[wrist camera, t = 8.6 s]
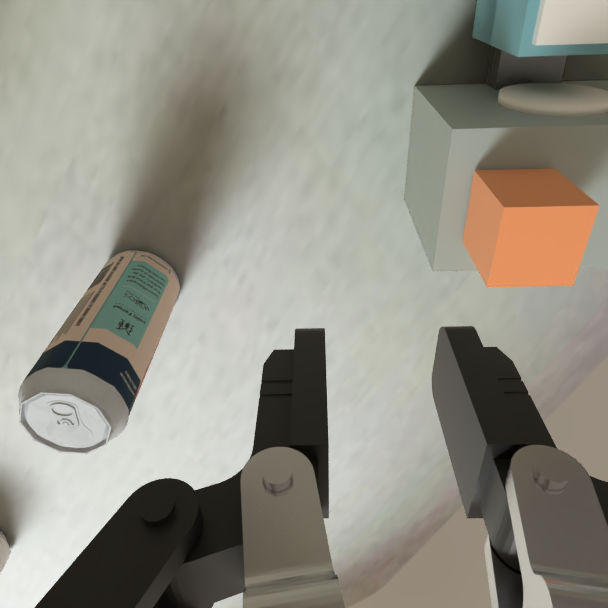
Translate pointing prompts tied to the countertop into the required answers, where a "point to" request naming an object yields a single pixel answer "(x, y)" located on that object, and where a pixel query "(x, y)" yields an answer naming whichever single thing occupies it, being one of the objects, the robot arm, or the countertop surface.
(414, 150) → the cabinet
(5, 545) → the can
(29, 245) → the countertop surface
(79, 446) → the beer can
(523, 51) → the box
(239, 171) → the countertop surface
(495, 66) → the rail
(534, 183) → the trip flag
